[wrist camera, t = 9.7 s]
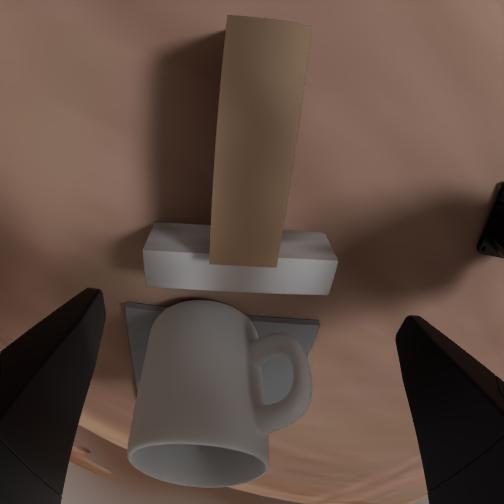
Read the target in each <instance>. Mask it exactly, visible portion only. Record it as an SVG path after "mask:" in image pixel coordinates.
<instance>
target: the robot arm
mask: <svg viewBox="0 0 504 504" xmlns="http://www.w3.org/2000/svg"><path fill="white" fill-rule="evenodd" d="M477 251H478V252H479V253H481V254H485V255H490V256H496V257H501V258H504V183H503V184H502V186H501V189H500V192H499V195H498V197H497V200H496V203H495V205H494V208H493V210H492V213H491V215H490V218H489V220H488V223H487V225H486V227H485V230H484V232H483V234H482V237H481V239H480V241H479V243H478V246H477ZM105 318H106V312H105V305H104V299H103V293H102V291H101V290H100V289H95V288H86V289H85V290H83V291H82V292H80V293H79V294H78V295H76V296H75V297H73V298H72V299H71V300H69V301H68V302H66V303H65V304H64V305H62V306H61V307H59V308H58V309H57V310H55V311H54V312H52V313H51V314H50V315H48V316H47V317H46V318H44V319H43V320H42V321H40V322H39V323H37V324H36V325H35V326H33V327H32V328H31V329H29V330H28V331H27V332H25V333H24V334H23V335H22V336H20V337H19V338H18V339H16V340H15V341H14V342H12V343H11V344H10V345H8V346H7V347H6V348H5V349H3V350H2V351H1V352H0V504H61V499H62V496H61V495H62V493H63V487H64V482H65V477H66V473H67V468H68V464H69V459H70V455H71V451H72V447H73V442H74V438H75V435H76V431H77V427H78V423H79V419H80V416H81V412H82V409H83V405H84V402H85V398H86V395H87V391H88V388H89V385H90V382H91V378H92V375H93V372H94V368H95V365H96V360H97V355H98V350H99V346H100V341H101V336H102V332H103V327H104V323H105ZM396 346H397V351H398V356H399V362H400V367H401V373H402V378H403V383H404V387H405V391H406V395H407V398H408V402H409V406H410V410H411V414H412V418H413V422H414V427H415V431H416V435H417V440H418V444H419V449H420V454H421V459H422V464H423V469H424V474H425V480H426V486H427V491H428V499H429V504H504V382H503V381H502V380H501V379H500V378H499V377H497V376H495V374H494V373H492V372H491V371H490V370H489V369H487V368H486V367H485V366H484V365H482V364H481V363H480V362H479V361H477V360H476V359H475V358H473V357H472V356H471V355H470V354H468V353H467V352H466V351H465V350H463V349H462V348H461V347H459V346H458V345H457V344H456V343H454V342H453V341H452V340H450V339H449V338H448V337H446V336H445V335H444V334H443V333H441V332H440V331H439V330H437V329H436V328H435V327H433V326H432V325H431V324H429V323H428V322H427V321H425V320H424V319H423V318H421V317H420V316H414V315H410V316H407V317H406V318H405V320H404V322H403V323H402V325H401V327H400V329H399V330H398V332H397V334H396Z"/></svg>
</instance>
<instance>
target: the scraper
mask: <svg viewBox="0 0 504 504" xmlns="http://www.w3.org/2000/svg"><path fill="white" fill-rule="evenodd" d="M311 29H312V25H307V24H301V23H295V22H289V21H282V20H275V19H266V18H257V17H247V16H234V15H227V24H226V33H225V42H224V51H223V61H222V72H221V82H220V93H219V105H218V117H217V130H216V144H215V158H214V174H213V191H212V209H211V225H200V224H181V223H161V222H155V223H154V225H153V227H152V230H151V232H150V234H149V236H148V239H147V241H146V243H145V245H144V248H143V261H144V271H145V281H146V286H148V287H162V288H177V289H193V290H210V291H229V292H250V293H275V294H305V295H329V293H330V289H331V286H332V282H333V279H334V275H335V272H336V268H337V265H338V259H337V257H336V255H335V253H334V251H333V249H332V247H331V245H330V243H329V241H328V239H327V237H326V235H325V233H321V232H308V231H294V230H283V227H284V220H285V214H286V208H287V202H288V195H289V189H290V182H291V176H292V169H293V163H294V156H295V149H296V142H297V135H298V128H299V121H300V114H301V107H302V100H303V92H304V85H305V77H306V70H307V62H308V54H309V46H310V38H311Z"/></svg>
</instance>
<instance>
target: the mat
mask: <svg viewBox="0 0 504 504" xmlns="http://www.w3.org/2000/svg"><path fill="white" fill-rule="evenodd" d="M167 308H169V307H162V306H154V305H147V304H139V303H132V302H127V303H126V306H125V311H126V320H127V328H128V336H129V343H130V350H131V357H132V363H133V369H134V375H135V381H136V386H137V391H138V388H139V383H140V378H141V374H142V369H143V364H144V360H145V355H146V350H147V345H148V340H149V335H150V331H151V328H152V325H153V323H154V321H155V320H156V318H157V317H158V316H159V315H160V314H161V313H162V312H163V311H164V310H165V309H167ZM246 316H247V317H248V318H249V319H250V320H251V322H252V323H253V325H254V326H255V329H256V331H257V333H258V337H259V338H261V337H264V336H267V335H270V334H273V333H279V332H280V333H288V334H290V335H292V336H293V337H294V338H296V339H297V340H298V341H299V343H300V344H301V346H302V347H303V349H304V351H305V353H306V356H308V354H309V351H310V349H311V346H312V344H313V342H314V339H315V337H316V334H317V332H318V330H319V327H320V323H319V320H306V319H290V318H275V317H262V316H250V315H246ZM293 375H294V372H293V366H292V362H291V360H290V358H289V356H287V355H279V356H276V357H273V358H271V359H269V360H268V361H266V362H265V363H264V364H263V365H262V379H263V393H264V404H265V405H270V404H274V403H277V402H279V401H281V400H283V399H284V398H285V397H286V396H287V395H288V394H289V392H290V390H291V388H292V385H293Z"/></svg>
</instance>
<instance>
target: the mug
mask: <svg viewBox="0 0 504 504" xmlns="http://www.w3.org/2000/svg"><path fill="white" fill-rule="evenodd" d="M279 355H287V356H289V358H290V360H291V362H292V366H293V372H294V375H293V385H292V388H291V390H290V392H289V394H288V395H287V396H286V397H285V398H284V399H283V400H281V401H279V402H277V403H274V404H270V405H265V404H264V393H263V379H262V365H263V364H264V363H265V362H266V361H268V360H269V359H271V358H273V357H276V356H279ZM311 396H312V375H311V369H310V365H309V361H308V358H307V356H306V353H305V351H304V349H303V347H302V346H301V344H300V343H299V341H298V340H297V339H296V338H294V337H293V336H292V335H290V334H288V333H280V332H279V333H273V334H270V335H267V336H264V337H261V338H259V337H258V333H257V331H256V329H255V326H254V325H253V323H252V322H251V320H250V319H249V318H248V317H247V316H246V315H244V314H243V313H242V312H240V311H239V310H237V309H235V308H233V307H231V306H229V305H226V304H224V303H220V302H216V301H210V300H191V301H185V302H181V303H178V304H175V305H173V306H171V307H169V308H167V309H165V310H164V311H163V312H162V313H161V314H160V315H159V316H158V317H157V318H156V320H155V321H154V323H153V325H152V328H151V331H150V335H149V340H148V345H147V350H146V355H145V360H144V364H143V369H142V374H141V378H140V383H139V388H138V393H137V398H136V403H135V408H134V413H133V419H132V424H131V430H130V436H129V442H128V449H127V456H128V459H129V461H130V462H131V464H132V465H133V466H134V467H135V468H137V469H138V470H140V471H141V472H143V473H145V474H147V475H149V476H151V477H153V478H156V479H159V480H162V481H166V482H169V483H174V484H179V485H185V486H193V487H227V486H234V485H239V484H244V483H247V482H250V481H253V480H256V479H258V478H260V477H261V476H263V475H264V474H265V473H266V472H267V471H268V469H269V466H270V457H269V440H268V434H270V433H272V432H275V431H277V430H279V429H282V428H284V427H286V426H288V425H290V424H292V423H294V422H295V421H297V420H298V419H299V418H301V417H302V416H303V414H304V413H305V412H306V410H307V409H308V407H309V404H310V401H311Z"/></svg>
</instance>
